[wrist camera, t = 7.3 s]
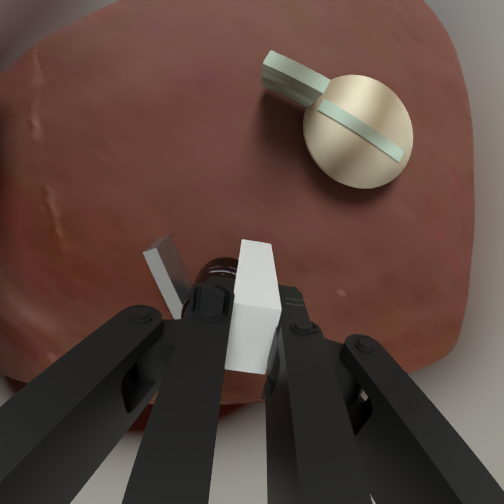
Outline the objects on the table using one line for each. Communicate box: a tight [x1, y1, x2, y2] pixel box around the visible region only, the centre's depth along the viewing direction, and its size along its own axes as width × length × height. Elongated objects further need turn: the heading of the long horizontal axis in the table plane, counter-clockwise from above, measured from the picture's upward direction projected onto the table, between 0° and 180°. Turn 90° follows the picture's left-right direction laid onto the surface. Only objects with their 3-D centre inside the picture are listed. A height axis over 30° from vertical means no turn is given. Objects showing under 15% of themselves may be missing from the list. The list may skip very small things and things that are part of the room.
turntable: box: [261, 51, 413, 189], centre depth 22 cm, size 17×12×7 cm
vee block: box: [143, 234, 192, 319], centre depth 31 cm, size 18×10×5 cm, turn 63°
